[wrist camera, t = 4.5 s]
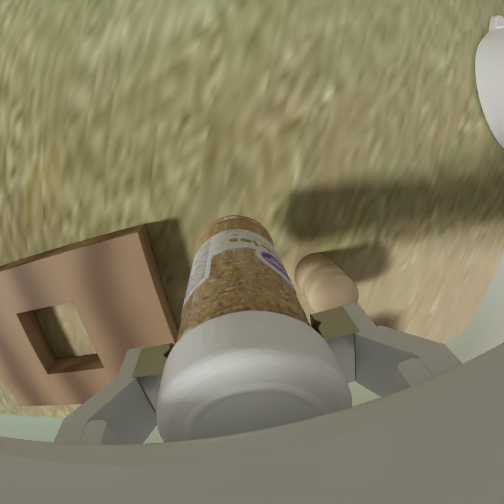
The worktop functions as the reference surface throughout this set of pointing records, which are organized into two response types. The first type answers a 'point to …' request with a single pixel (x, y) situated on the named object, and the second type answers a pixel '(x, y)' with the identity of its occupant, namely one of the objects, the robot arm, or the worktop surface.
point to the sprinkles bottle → (244, 344)
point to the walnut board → (81, 315)
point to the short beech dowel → (324, 283)
